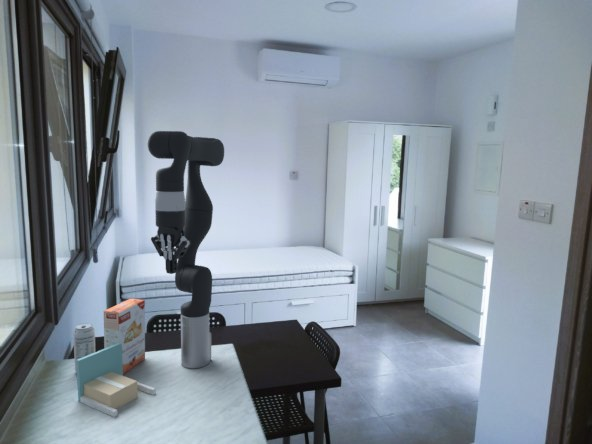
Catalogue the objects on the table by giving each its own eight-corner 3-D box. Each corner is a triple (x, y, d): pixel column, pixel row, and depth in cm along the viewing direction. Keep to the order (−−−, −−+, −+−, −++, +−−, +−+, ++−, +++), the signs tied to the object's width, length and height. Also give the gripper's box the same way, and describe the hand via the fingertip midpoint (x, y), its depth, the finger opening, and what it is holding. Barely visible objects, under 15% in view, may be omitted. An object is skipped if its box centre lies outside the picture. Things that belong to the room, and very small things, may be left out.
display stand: (120, 380, 132) (119, 342, 131) (155, 393, 125) (154, 353, 123) (78, 401, 120) (76, 359, 118) (114, 417, 113) (112, 373, 111)
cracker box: (121, 377, 134) (119, 312, 131) (104, 375, 135) (101, 310, 132) (146, 358, 147) (145, 299, 145) (131, 356, 149) (129, 297, 146)
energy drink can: (97, 366, 141) (95, 321, 139) (94, 374, 135) (92, 328, 133) (77, 368, 139) (75, 323, 137) (73, 376, 133) (71, 330, 132)
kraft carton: (111, 387, 128) (111, 371, 128) (137, 397, 123) (137, 380, 122) (84, 401, 120) (83, 383, 120) (110, 412, 115) (109, 394, 115)
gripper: (199, 209, 113) (199, 273, 115) (163, 206, 120) (164, 267, 122) (178, 211, 107) (179, 279, 109) (141, 207, 113) (142, 272, 115)
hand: (171, 272), depth 115 cm, fingers closed
